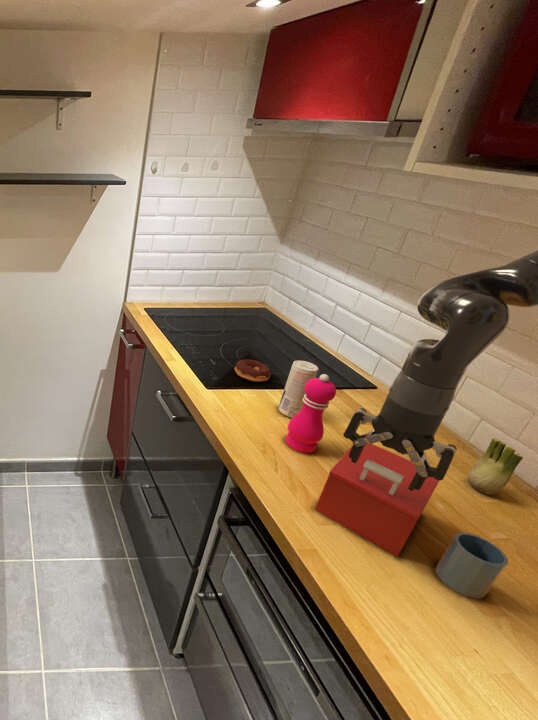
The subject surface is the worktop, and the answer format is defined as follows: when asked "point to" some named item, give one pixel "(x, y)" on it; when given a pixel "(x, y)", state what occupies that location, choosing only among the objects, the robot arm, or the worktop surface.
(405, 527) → the cooler
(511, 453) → the fennel bulb
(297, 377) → the beverage can
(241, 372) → the donut
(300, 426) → the pepper mill
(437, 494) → the worktop surface
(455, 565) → the cup
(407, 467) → the cooler lid
